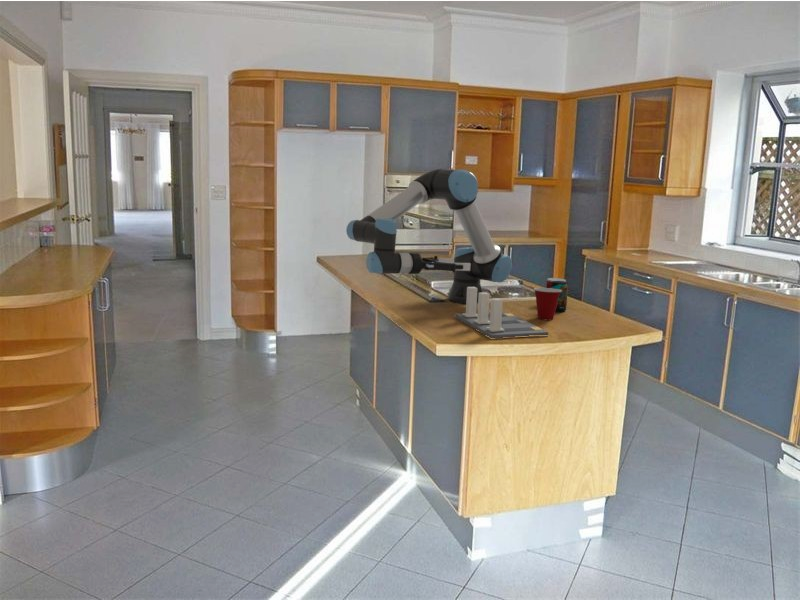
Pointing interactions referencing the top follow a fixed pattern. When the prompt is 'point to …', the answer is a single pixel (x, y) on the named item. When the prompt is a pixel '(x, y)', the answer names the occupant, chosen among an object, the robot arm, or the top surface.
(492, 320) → the slider
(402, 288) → the top surface
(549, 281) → the canned food
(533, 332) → the grey base board
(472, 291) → the slider
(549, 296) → the plastic cup
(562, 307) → the beverage can
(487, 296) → the slider
